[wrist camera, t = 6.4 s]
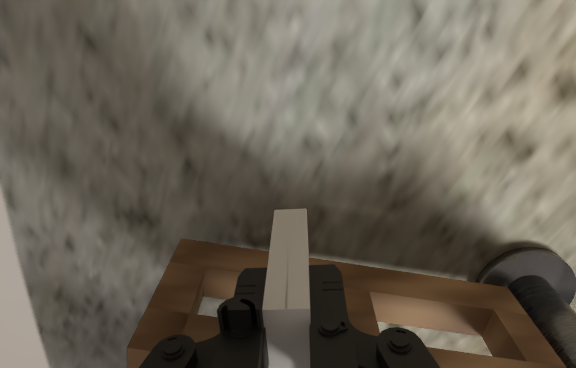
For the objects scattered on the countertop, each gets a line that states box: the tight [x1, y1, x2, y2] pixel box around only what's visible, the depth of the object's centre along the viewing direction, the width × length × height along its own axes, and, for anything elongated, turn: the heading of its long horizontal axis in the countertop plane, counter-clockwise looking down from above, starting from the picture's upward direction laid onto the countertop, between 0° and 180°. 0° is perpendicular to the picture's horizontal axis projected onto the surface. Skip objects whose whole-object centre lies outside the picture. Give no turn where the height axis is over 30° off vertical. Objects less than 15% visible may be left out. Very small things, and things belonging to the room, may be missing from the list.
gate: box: [127, 239, 567, 368], centre depth 18 cm, size 16×2×7 cm, turn 81°
